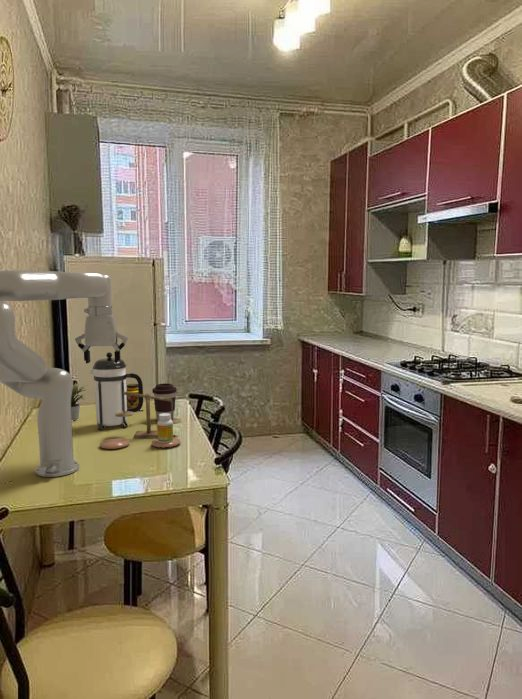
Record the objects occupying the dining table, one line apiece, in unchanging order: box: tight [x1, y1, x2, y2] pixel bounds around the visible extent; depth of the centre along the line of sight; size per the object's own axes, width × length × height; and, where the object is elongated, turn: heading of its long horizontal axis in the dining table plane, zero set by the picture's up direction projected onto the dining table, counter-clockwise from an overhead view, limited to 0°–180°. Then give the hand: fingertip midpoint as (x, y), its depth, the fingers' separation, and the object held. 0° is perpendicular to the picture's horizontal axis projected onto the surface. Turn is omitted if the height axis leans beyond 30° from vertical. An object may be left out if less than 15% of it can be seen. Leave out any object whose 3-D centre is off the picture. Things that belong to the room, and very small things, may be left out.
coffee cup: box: [151, 382, 177, 422], centre depth 221 cm, size 10×10×15 cm
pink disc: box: [99, 437, 130, 450], centre depth 186 cm, size 10×10×1 cm
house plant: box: [71, 382, 89, 421], centre depth 221 cm, size 14×14×16 cm
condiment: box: [126, 383, 139, 409], centre depth 239 cm, size 7×8×12 cm
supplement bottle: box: [156, 413, 174, 443], centre depth 186 cm, size 5×5×10 cm
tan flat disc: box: [151, 437, 182, 449], centre depth 187 cm, size 10×10×1 cm
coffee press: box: [89, 351, 144, 431], centre depth 211 cm, size 17×16×30 cm
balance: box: [115, 392, 182, 439], centre depth 197 cm, size 24×7×17 cm, turn 93°
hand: (102, 362), depth 178 cm, fingers open, 9 cm apart
